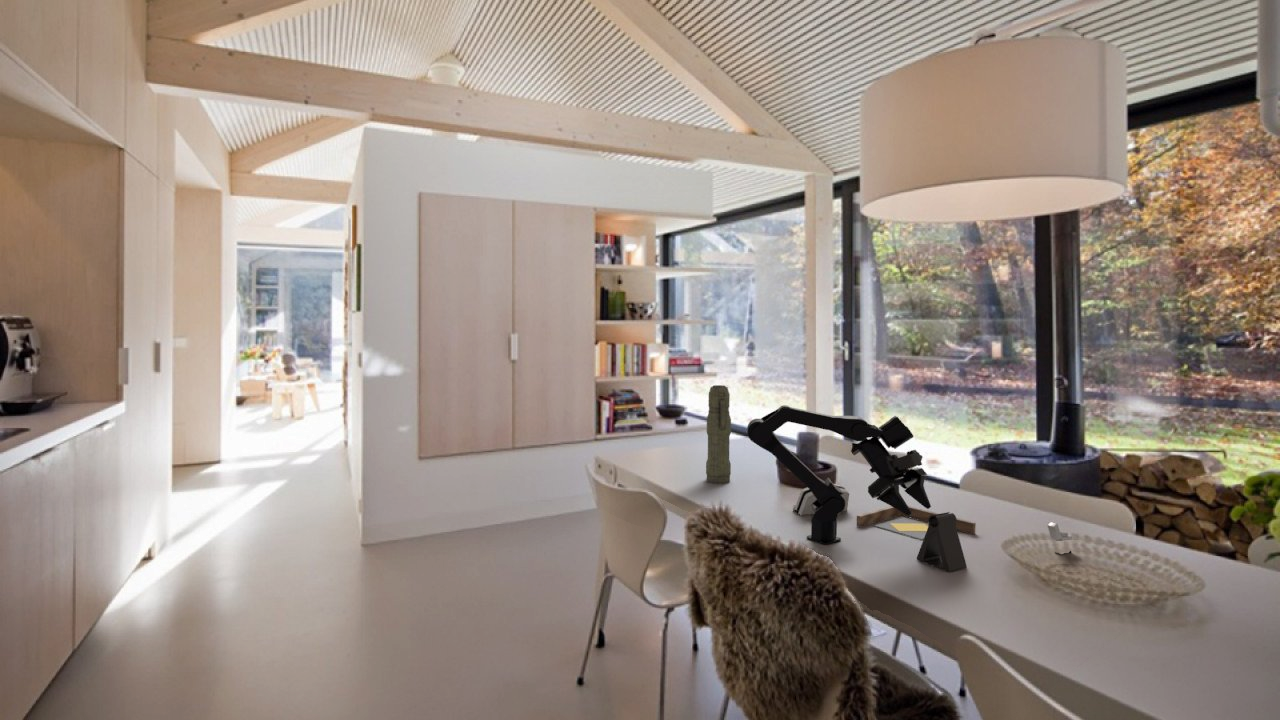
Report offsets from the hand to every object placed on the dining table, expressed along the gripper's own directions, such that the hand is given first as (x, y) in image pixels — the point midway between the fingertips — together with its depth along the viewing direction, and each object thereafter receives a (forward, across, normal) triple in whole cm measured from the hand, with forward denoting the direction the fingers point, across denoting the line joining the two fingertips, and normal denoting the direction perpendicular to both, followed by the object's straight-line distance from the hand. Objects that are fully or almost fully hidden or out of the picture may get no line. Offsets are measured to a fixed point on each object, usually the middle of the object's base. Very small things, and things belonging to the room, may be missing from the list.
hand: (920, 511), depth 152 cm
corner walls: (0, +19, +16) cm, 25 cm away
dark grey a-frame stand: (+12, 0, +4) cm, 13 cm away
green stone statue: (-52, +16, +68) cm, 87 cm away
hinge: (-18, +13, +35) cm, 41 cm away
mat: (-1, +20, +17) cm, 26 cm away
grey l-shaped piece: (+22, +30, -6) cm, 38 cm away
